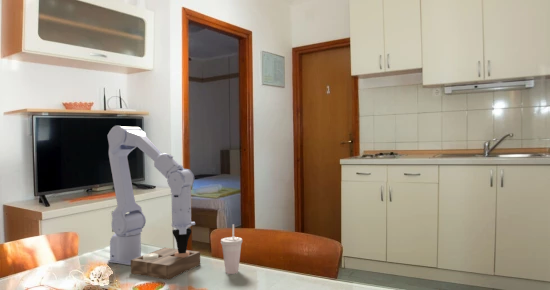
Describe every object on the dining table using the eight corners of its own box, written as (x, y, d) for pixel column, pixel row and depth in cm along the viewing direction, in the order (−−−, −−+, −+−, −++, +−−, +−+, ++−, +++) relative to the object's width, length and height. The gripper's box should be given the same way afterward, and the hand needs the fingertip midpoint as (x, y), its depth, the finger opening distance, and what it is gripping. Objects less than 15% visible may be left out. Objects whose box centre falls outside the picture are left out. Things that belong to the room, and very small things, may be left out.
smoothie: (239, 276, 111) (238, 227, 111) (217, 275, 112) (217, 226, 112) (245, 269, 117) (244, 222, 117) (225, 268, 119) (224, 222, 119)
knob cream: (139, 267, 116) (139, 256, 116) (150, 263, 120) (150, 252, 120) (151, 269, 114) (151, 258, 114) (161, 265, 118) (161, 254, 118)
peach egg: (171, 264, 119) (171, 253, 119) (180, 260, 123) (180, 250, 123) (183, 266, 117) (183, 255, 117) (192, 262, 121) (192, 251, 121)
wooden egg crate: (130, 273, 115) (130, 260, 115) (165, 259, 128) (164, 247, 128) (168, 279, 109) (168, 265, 109) (200, 264, 122) (200, 251, 122)
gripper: (196, 211, 114) (197, 258, 114) (193, 204, 128) (193, 246, 128) (171, 213, 112) (172, 260, 112) (171, 205, 126) (171, 247, 126)
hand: (182, 253), depth 120 cm, fingers closed, pressing on peach egg
